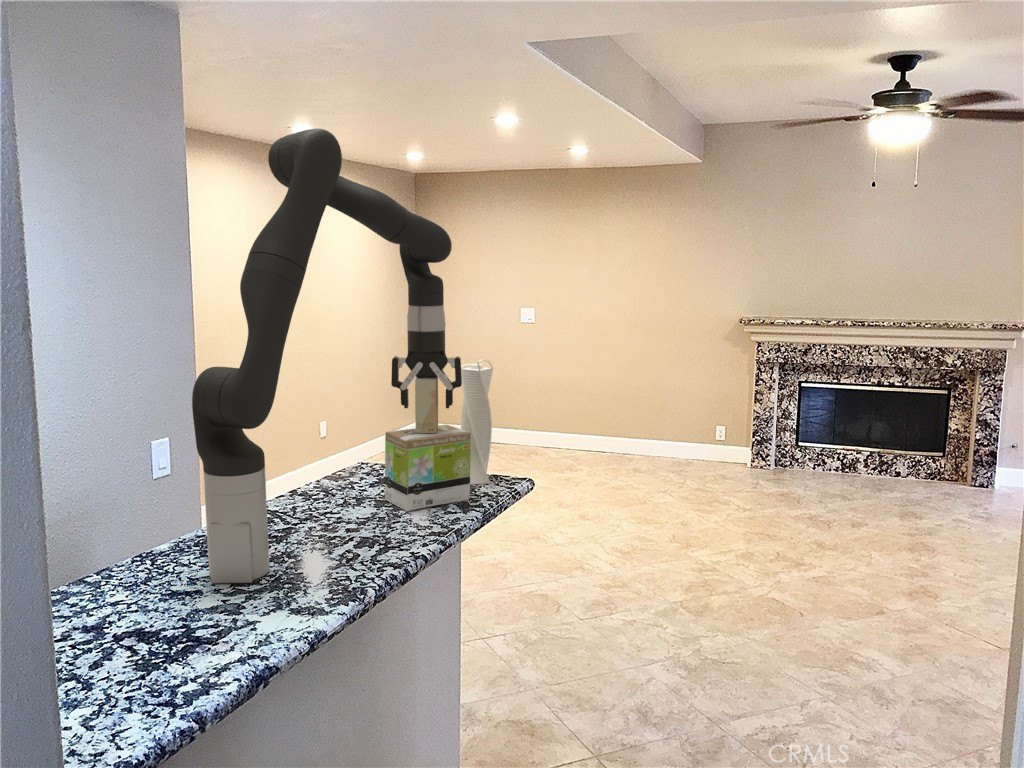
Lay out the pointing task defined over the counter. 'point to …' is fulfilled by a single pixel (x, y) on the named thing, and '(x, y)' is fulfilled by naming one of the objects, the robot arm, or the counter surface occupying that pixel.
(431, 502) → the tea box
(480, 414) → the skyscraper
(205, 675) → the counter surface
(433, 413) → the box
